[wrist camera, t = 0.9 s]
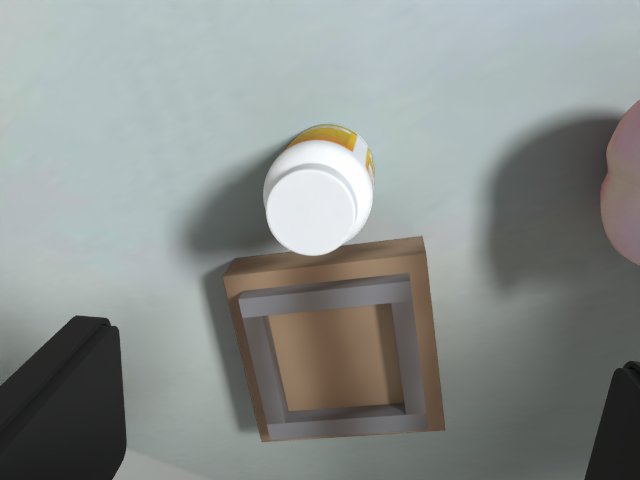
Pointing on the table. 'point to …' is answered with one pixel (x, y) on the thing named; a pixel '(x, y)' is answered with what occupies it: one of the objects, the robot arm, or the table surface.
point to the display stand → (338, 341)
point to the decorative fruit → (623, 187)
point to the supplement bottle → (320, 190)
